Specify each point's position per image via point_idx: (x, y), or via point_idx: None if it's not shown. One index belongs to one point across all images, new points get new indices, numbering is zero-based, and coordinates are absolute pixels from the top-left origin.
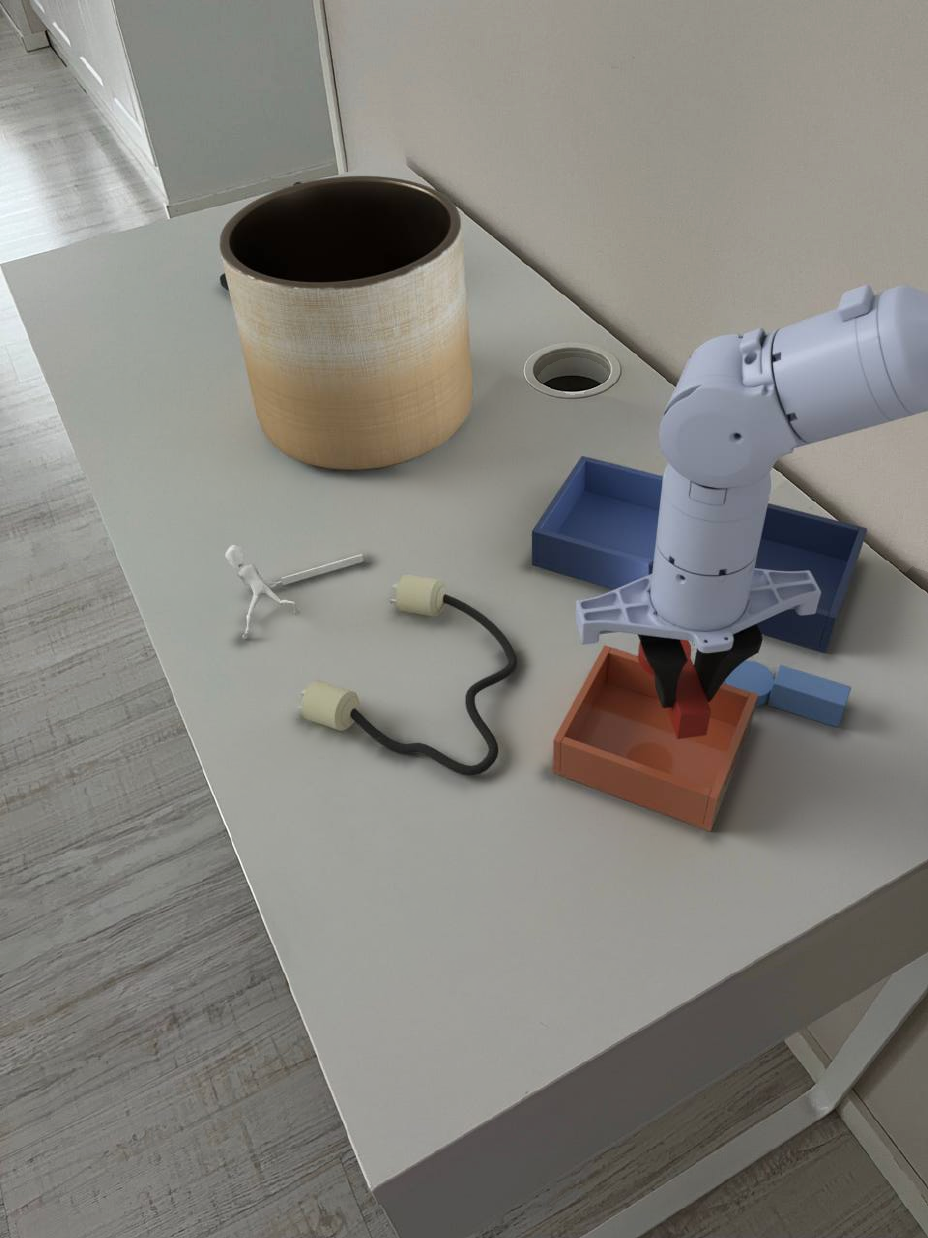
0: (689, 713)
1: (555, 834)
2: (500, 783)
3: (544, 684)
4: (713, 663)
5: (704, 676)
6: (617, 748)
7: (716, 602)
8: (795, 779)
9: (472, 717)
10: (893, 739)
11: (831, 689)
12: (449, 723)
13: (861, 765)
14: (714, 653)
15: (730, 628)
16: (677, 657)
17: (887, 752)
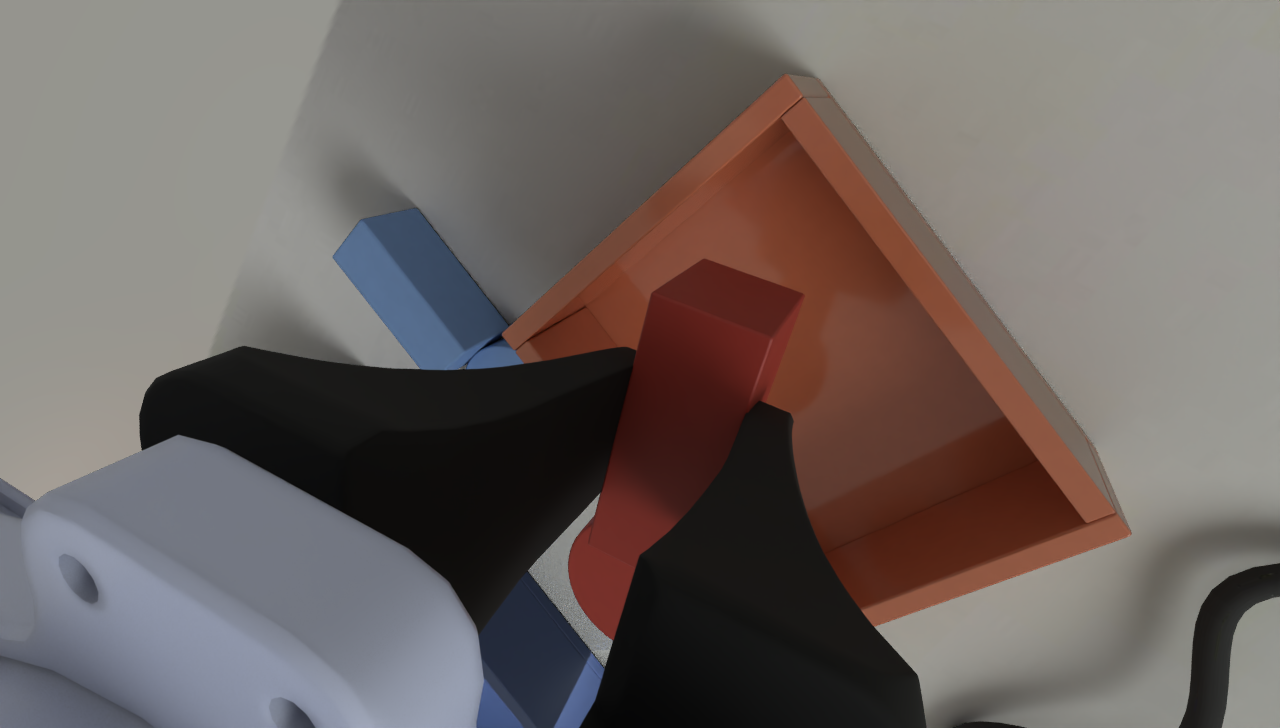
0: (737, 326)
1: (1254, 274)
2: (1273, 503)
3: (922, 649)
4: (520, 448)
5: (592, 429)
6: (885, 412)
7: None
8: (551, 129)
9: (1222, 715)
10: (338, 129)
11: (367, 271)
12: (1254, 724)
13: (416, 98)
14: (480, 489)
15: (37, 641)
16: (700, 634)
17: (360, 105)
